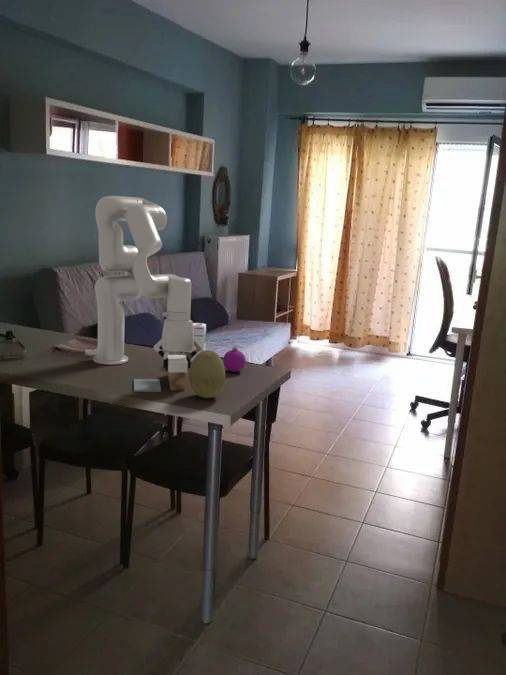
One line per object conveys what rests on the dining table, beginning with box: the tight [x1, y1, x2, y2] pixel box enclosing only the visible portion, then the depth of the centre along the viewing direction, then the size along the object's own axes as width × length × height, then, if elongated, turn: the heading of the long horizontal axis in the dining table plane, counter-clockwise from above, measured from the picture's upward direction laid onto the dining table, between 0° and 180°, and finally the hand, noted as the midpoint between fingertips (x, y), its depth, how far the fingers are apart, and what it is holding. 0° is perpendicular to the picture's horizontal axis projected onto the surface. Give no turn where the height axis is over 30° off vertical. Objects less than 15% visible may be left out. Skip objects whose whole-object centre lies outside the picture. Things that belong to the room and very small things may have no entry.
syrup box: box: [191, 322, 207, 362], centre depth 225 cm, size 6×6×14 cm
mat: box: [133, 378, 162, 393], centre depth 192 cm, size 8×12×1 cm
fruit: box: [188, 349, 226, 399], centre depth 183 cm, size 11×11×15 cm
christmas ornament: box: [222, 346, 246, 373], centre depth 214 cm, size 8×8×10 cm
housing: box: [167, 371, 186, 391], centre depth 197 cm, size 4×18×6 cm, turn 11°
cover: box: [167, 354, 189, 373], centre depth 192 cm, size 6×10×3 cm, turn 11°
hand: (176, 369), depth 193 cm, fingers closed on cover, 6 cm apart
